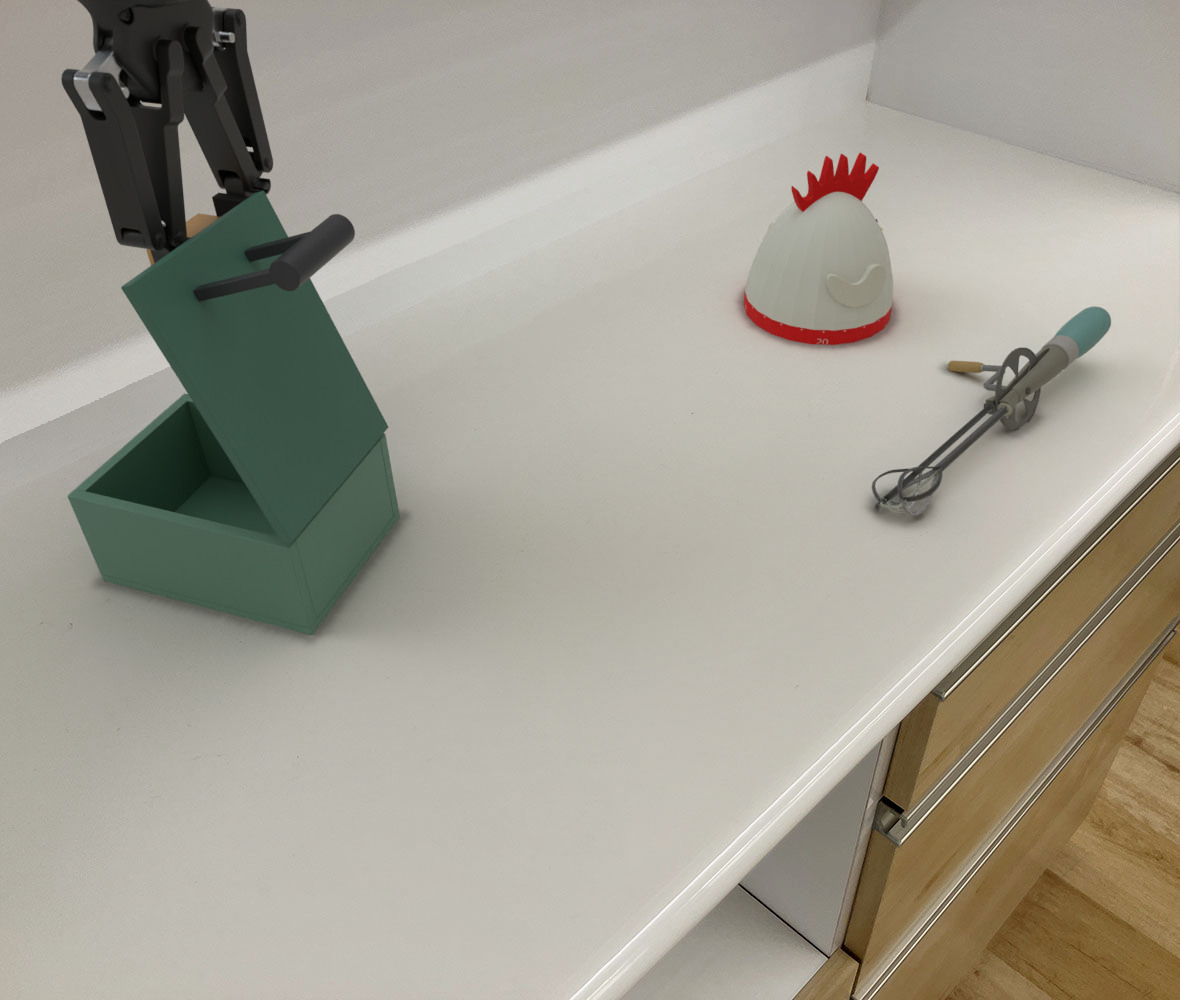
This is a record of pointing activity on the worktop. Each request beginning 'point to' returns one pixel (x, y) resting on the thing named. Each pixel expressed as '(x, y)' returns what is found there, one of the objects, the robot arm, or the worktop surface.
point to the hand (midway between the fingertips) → (229, 309)
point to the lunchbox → (226, 527)
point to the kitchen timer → (824, 263)
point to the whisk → (1003, 399)
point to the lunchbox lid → (263, 355)
